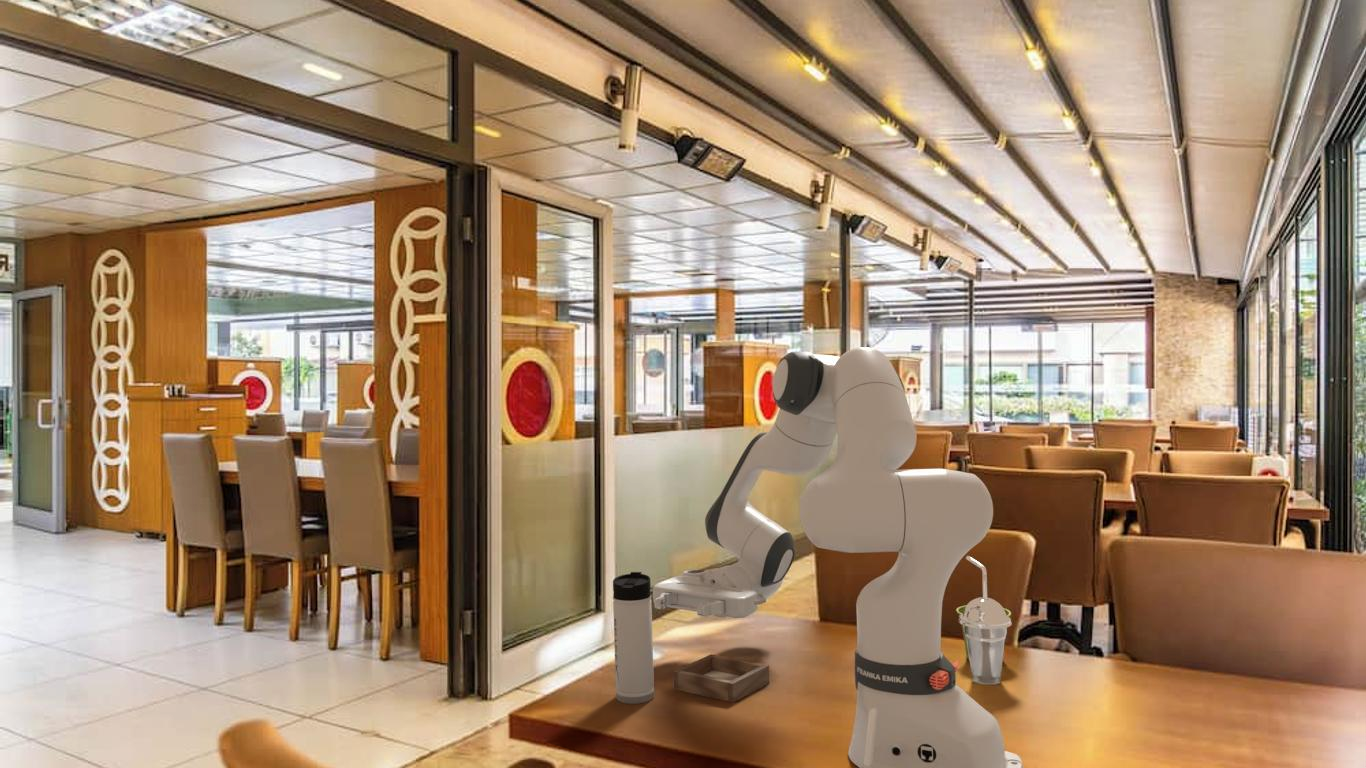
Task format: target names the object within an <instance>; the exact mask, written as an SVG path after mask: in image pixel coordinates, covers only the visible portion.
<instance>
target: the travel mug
mask: <svg viewBox="0 0 1366 768" xmlns="http://www.w3.org/2000/svg"><path fill="white" fill-rule="evenodd" d="M651 588H652V587H651V577H650V576H649V575H647V574H644V573H643V574H642V571H631V572H630V573H626V574H621V575H619V576H617V577H614V579H613V581H612V592H613V596H612V600H613V601H612V603H613V604H612V606H613V607H612V608H613V609H612V610H613V635H614V637H613V640H614V641H613V642H614V643H613V644H614V669H615V670H614V672H615V673H614V674H615V698H616V700H617V701H619V702H620V703H623V704H627V705H636V704H637V705H639V704H643V703H647V702H649V701H652V700H653V698H654V697H655V680H654V679H655V678H654V653H653V652H654V648H653V647H654V645H653V643H654V640H653V614H652V613H653V611H652V592H651V590H652V589H651Z"/></svg>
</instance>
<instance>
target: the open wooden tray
mask: <svg viewBox="0 0 1366 768" xmlns="http://www.w3.org/2000/svg"><path fill="white" fill-rule="evenodd" d="M672 673H673V690H676V691H681V692H685V693H689V694H694V695H697V696H703V697H707V698H708V697H709V698H712V699H717V700H719V701H720V700H721V701H724V702H725V701H726V702H728V703H729V702H730V703H735V702H737V701H738V700H739V701H740V700H741V699H742V698H744V697H746V696H748V695H750V694H752V693H754V692H756V691H758V690H760V689H761V688H763V687H765V686H766V685H769V684H770V665H769V664H763V663H758V662H754V661H747V660H744V659H743V660H742V659H738V658H732V657H727V656H722V655H716V654H708V655H707V656H704V657H702V658H699V659H697V660H695V661H693V662H691V663H688V664H687V665H684V666H681V667H679V668H678V669H675V670H673V671H672Z"/></svg>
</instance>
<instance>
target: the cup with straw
mask: <svg viewBox="0 0 1366 768" xmlns="http://www.w3.org/2000/svg"><path fill="white" fill-rule="evenodd" d="M965 560H967V561H969V562H970V563H971V564H973V565H975V566H976V567H978V568H979V569H980V570H981V572H982V575H981V576H982V597H980V596H979V597H976V598H974V599H972V600H970V601H969V602H968V603H967V604H966V605H967V606H966V607H965V610H964V613H963V614H961V615H960V616H959V615H958V623H959V624H960V625H961V626H962V625H963V626H964V632H965V637H966V638H967V646H968V653H969V659H968V660H969V667H970V672H971V675H972V679H971V680H972V681H973V682H974V683H977V684H980V685H997V684H1000V683H1001V676H1002V673H1003V671H1002V670H1003V669H1002V668H1003V658H1004V650H1005V649H1004V646H1005V641H1006V636H1007V633H1008V630H1007V629H1008V628H1010V627H1011V626H1012V625H1013V624H1012V623H1013V622H1012V619H1011V616H1010V617H1008V616H1006V613H1005V611H1004V609H1003V608H1004V607H1003V606H1002V605H1001V604H1000V602H998V601H996V599H993V598H991V597H988V577H987V574H988V573H987V568H986V566H985V565H983V564H982V563H980V562H979V561H977V560H976V559H975V558H973V557H971V556H970V555H966V557H965Z"/></svg>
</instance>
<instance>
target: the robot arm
mask: <svg viewBox="0 0 1366 768" xmlns="http://www.w3.org/2000/svg"><path fill="white" fill-rule="evenodd" d="M773 373H774V374H773V378H772V397H773V400H774V402H775V404H776V406H777V407H778V408H779V410H778V412H777V415H776V418H775V420H774V423H773V426H772V427H771V428H770V430H769V431H767V432H761V433H758V434H757V435H756V436H754V438H753V439H752V440H751V441H750V442H749V443H748V444H747V446H746V447H745V449H744V450H743V452H742V455H741V456H740V458H739V459H738V461H737V463H736V465H735V467H734V469H733V470H732V472H731V474H730V476H729V478H728V479H727V481H726V483H725V485H724V487H723V488H722V491H721V492H720V494H719V495H718V497H717V498H716V500H715V501H714V503H713V504H712V505H711V507H710V508H709V509H708V512H707V513H706V515H705V519H704V525H705V531H706V535H707V538H708V539H709V540H710V541H711V542H713V543H715V544H716V545H718V546H720V547H721V548H723V549H725V550H727V552H729V553H731V554H732V555H734V556H735V557H736V558H737V559H738V561H737V562H735V563H733V564H730V565H729V564H727V565H724V566H721V567H715V568H709V569H706V570H705V569H699V570H698V569H697V570H696V569H693V570H685V571H683V572H681V575H679V576H677V575H676V576H674V577H671V578H668V579H665V580H663V581H660V582H658V583H655V585H653V589H652V598H653V599H652V600H653V604H654V605H653V606H654V609H658V610H664V609H668V608H672V609H678V610H684V611H690V612H696V613H697V615H698V616H701V617H708V616H710V615H711V616H712V615H713V616H714V617H717V618H726V617H728V618H734V619H743V618H746V617H749V616H750V615H752V614H754V613H755V612H757V610H758V607H759V606H760V605H762V604H765V603H766V602H767V600H768V599H770V598H771V597H772V596H773V595H775V593H777V592H778V590H779V589H780V588H781V586H782V584H783V582H784V578H785V577H786V575H787V574H788V572H789V571H790V568H792V567H791V566H792V565H793V561H794V559H795V541H794V538H793V535H792V533H791V532H789V531H788V530H786V529H785V528H784V527H782V526H781V525H779V524H778V523H777V522H775V521H774V520H773V519H771V518H770V517H767V515H765V514H763V513H761V512H760V511H759V510H757V509H756V508H755V507H753V505H752V504H751V503H750V501H749V495H750V494H751V492H752V490H753V489H754V487H755V485H756V483H757V481H758V480H759V478H760V476H761V474H762V473H763V471H767V472H774V473H778V474H782V475H788V476H799V475H806V474H809V473H812V472H814V471H816V470H818V469H819V468H820V467H822V465H824V464H825V461H826V460H827V458H829V457H828V456H829V454H830V453H831V450H832V448H833V445H834V442H835V440H836V437H837V443H838V444H837V446H838V448H837V453H836V456H835V458H834V460H833V462H832V463H831V464H830V465H829V466H828V468H827V469H825V470H824V471H823V472H822V473H820V474H818V475H816V476H815V477H813V478H812V479H811V480H810V482H809V483H807V485H806V487H805V488H804V491H802V494H801V498H800V500H799V505H798V506H799V507H798V515H799V521H800V525H801V528H802V530H803V532H804V534H805V535H806V537H807V538H808V540H809V541H810V542H811V543H812V544H813V546H815V548H820V549H825V550H830V551H836V552H842V553H849V554H851V553H852V554H853V553H855V554H857V553H859V554H860V553H862V554H863V553H889V552H890V553H891V552H898V556H897V559H896V560H895V563H894V565H893V566H892V567H891V568H890V569H889V570H888V571H886V572H885V573H883V574H882V575H880V576H878V577H876V578H874V579H872V580H871V581H870V582H868V583H867V584H866V585H865V586H863V588H862V589H861V591H860V592H859V594H858V596H857V600H856V604H855V605H856V632H857V634H856V636H857V637H856V639H857V648H856V650H855V651H854V683H855V689H856V691H857V693H856V694H857V695H856V709H855V718H854V724H853V725H854V726H853V730H852V736H851V741H850V744H849V748H848V751H847V753H848V758H849V760H850V761H851V762H852V763H853V764H854V765H855V766H857V767H858V768H1024V766H1023V762H1022V759H1021V757H1020V756H1019V755H1018V754H1016V753H1014V752H1010V751H1007V750H1005V744H1004V738H1003V734H1002V730H1001V728H1000V727H1001V726H1000V725H999V722H998V720H997V719H996V717H995V716H994V715H992V714H991V713H990V712H989V711H988V710H986V709H985V708H984V707H983V706H982V705H980V704H979V703H978V702H977V701H976V700H975V699H974V698H972V697H971V696H970V695H969V694H968V693H967V692H965V690H963V689H962V687H960V686H958V685H957V683H956V682H957V680H956V679H957V678H956V675H957V674H956V672H958V671H959V670H960V666H959V665H960V660H956V661H954V663H951V661H950V660H948V659H947V658H946V656H945V654H944V653H943V652H942V638H941V637H942V613H943V610H942V609H943V600H944V596H945V591H946V587H947V585H948V582H949V580H950V578H951V577H952V576H951V575H952V574H953V572H954V570H955V568H956V567H957V565H958V564H959V562H960V561H961V560H962V558H963V557H964V556H966V554H967V553H968V552H969V551H970V550H972V549H973V548H974V547H975V546H976V545H978V544H980V543H981V542H982V540H983V539H984V538H985V537H986V535H987V534H988V533H989V530H990V528H991V525H992V523H993V518H994V503H993V499H992V496H991V494H990V491H989V490H988V488H987V486H986V485H985V483H984V482H983V481H982V480H981V479H980V477H978V476H977V475H976V474H975V473H970V472H964V471H961V470H953V469H946V468H912V469H911V468H910V469H899V468H900V467H902V466H903V465H904V464H905V463H906V461H908V460H909V458H910V457H911V456H912V454H913V452H914V451H915V448H916V445H917V438H918V437H917V435H918V434H917V429H916V427H915V423H914V419H913V416H912V413H911V410H910V405H909V401H908V399H907V396H906V393H905V387H904V383H903V380H902V378H901V377H900V375H899V374H898V373H897V372H896V369H895V367H894V365H893V364H892V363H891V361H890V360H889V358H888V357H887V356H886V354H884V353H883V352H882V351H880V350H878V349H876V348H872V347H867V346H865V347H863V346H861V347H856V348H851V349H850V350H848V351H847V350H846V351H845V352H844V353H843V354H842V355H840V356H837V355H831V354H820V353H819V354H818V353H812V352H810V351H804V350H802V351H792V352H788V353H786V355H784V356H783V357H782V358H781V359H780V360H779V361H778V364H777V366H776V368H775V371H774V372H773Z"/></svg>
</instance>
